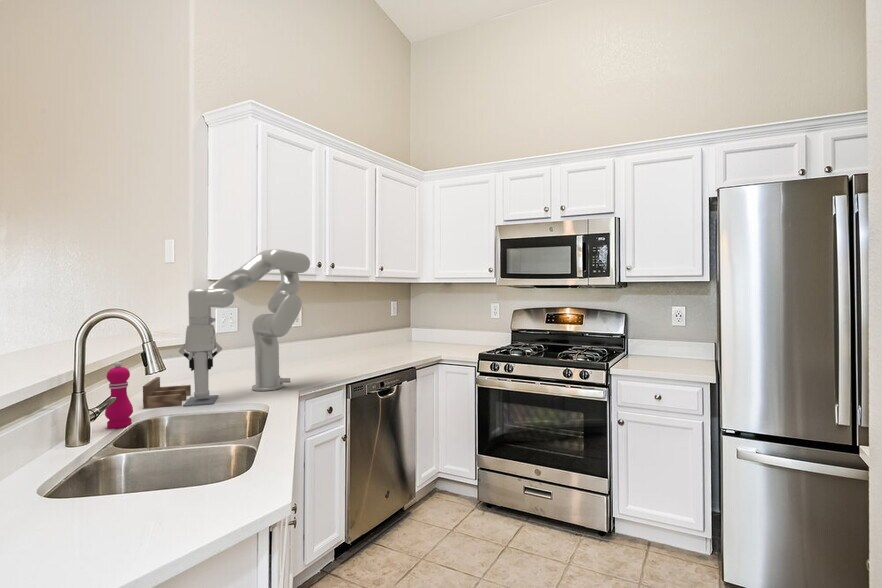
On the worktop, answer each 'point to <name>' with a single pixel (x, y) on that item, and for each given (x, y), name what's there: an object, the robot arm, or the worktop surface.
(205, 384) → the bottle
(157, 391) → the lane rack
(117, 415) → the pepper mill
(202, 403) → the rubber mat
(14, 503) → the worktop surface
